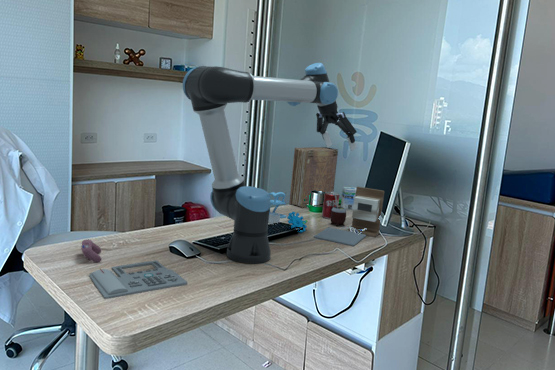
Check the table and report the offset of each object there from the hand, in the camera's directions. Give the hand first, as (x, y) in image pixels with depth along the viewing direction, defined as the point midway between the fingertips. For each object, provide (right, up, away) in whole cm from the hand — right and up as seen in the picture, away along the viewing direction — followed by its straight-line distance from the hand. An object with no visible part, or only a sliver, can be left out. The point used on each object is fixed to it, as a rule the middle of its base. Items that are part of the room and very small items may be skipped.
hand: (341, 147), depth 197 cm
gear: (-18, -35, +4) cm, 40 cm away
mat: (0, -37, 0) cm, 37 cm away
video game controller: (-85, -39, -48) cm, 105 cm away
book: (-9, -26, +58) cm, 64 cm away
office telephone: (-68, -43, -60) cm, 100 cm away
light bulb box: (+13, -28, +56) cm, 64 cm away
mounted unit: (+11, -36, +10) cm, 39 cm away
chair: (-28, -30, +25) cm, 48 cm away
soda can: (-2, -31, +31) cm, 45 cm away
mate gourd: (0, -34, +20) cm, 39 cm away
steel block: (-29, -32, +14) cm, 45 cm away
